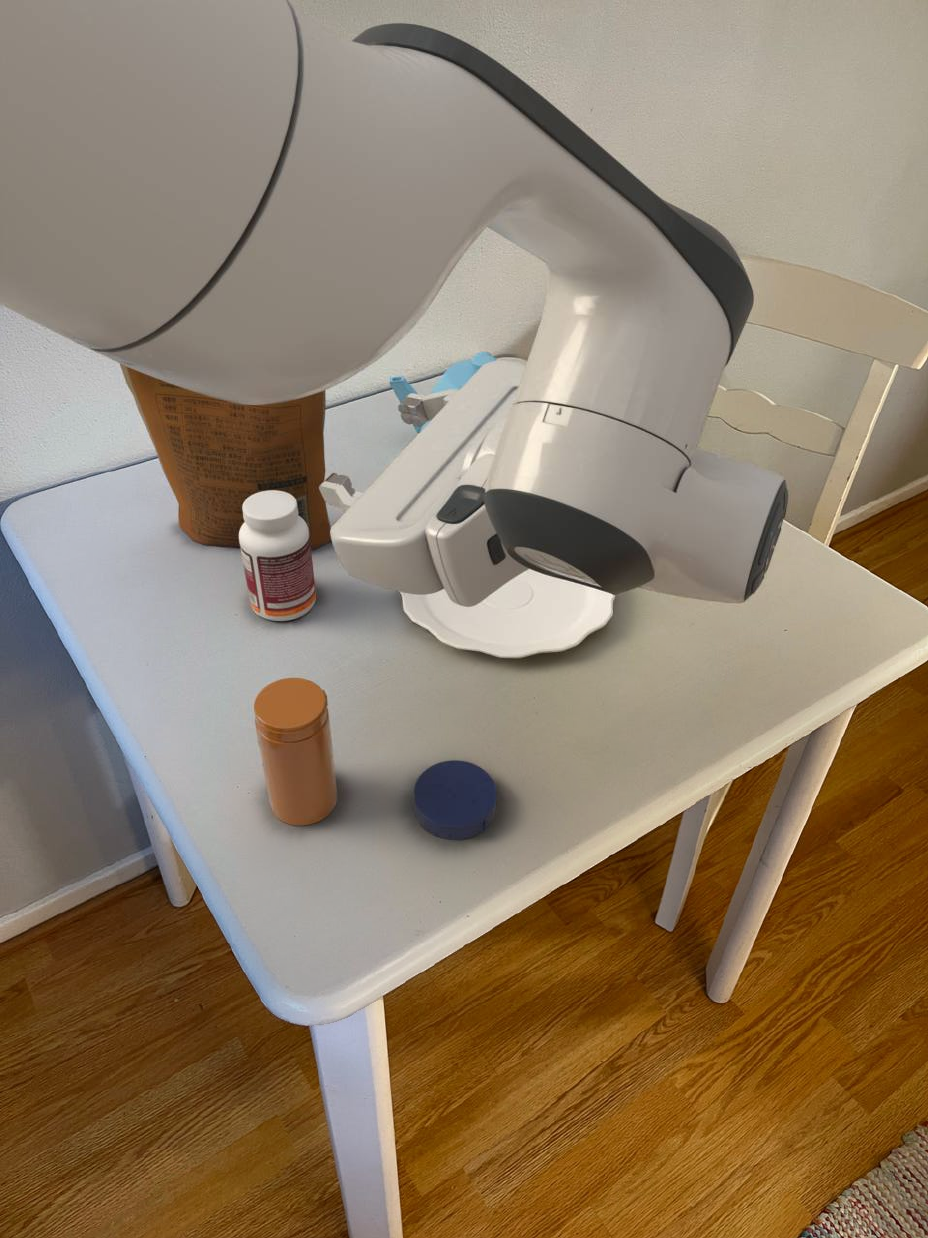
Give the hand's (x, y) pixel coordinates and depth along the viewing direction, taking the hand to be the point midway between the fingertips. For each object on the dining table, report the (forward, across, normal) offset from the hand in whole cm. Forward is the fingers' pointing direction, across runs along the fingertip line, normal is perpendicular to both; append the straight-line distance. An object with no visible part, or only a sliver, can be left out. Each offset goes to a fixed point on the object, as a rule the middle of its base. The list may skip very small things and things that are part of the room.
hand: (367, 446), depth 65 cm
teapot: (+17, -30, +28) cm, 45 cm away
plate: (0, -9, +25) cm, 27 cm away
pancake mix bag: (+25, -2, +19) cm, 32 cm away
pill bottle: (+15, +4, +19) cm, 25 cm away
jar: (-2, +20, +18) cm, 27 cm away
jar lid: (-11, +14, +19) cm, 26 cm away
